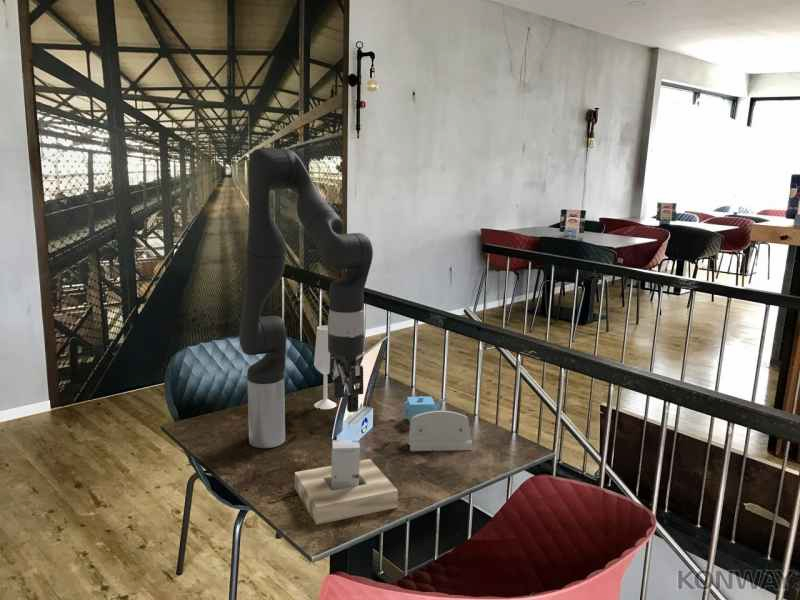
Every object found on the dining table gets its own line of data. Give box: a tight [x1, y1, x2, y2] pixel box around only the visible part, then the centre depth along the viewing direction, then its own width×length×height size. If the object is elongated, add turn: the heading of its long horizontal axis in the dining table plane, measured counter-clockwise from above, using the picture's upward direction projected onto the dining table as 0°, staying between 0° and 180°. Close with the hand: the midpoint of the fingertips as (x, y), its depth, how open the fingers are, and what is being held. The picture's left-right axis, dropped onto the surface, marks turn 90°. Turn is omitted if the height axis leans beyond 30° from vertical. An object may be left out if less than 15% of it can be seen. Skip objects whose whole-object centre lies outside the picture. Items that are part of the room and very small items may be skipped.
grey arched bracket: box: [407, 410, 473, 452], centre depth 171 cm, size 17×5×10 cm, turn 95°
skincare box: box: [330, 439, 361, 491], centre depth 142 cm, size 6×4×12 cm
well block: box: [294, 458, 399, 526], centre depth 143 cm, size 16×18×4 cm
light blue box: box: [402, 395, 446, 424], centre depth 185 cm, size 12×6×8 cm, turn 96°
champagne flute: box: [313, 325, 338, 410], centre depth 194 cm, size 7×7×24 cm
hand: (345, 404), depth 139 cm, fingers open, 8 cm apart
